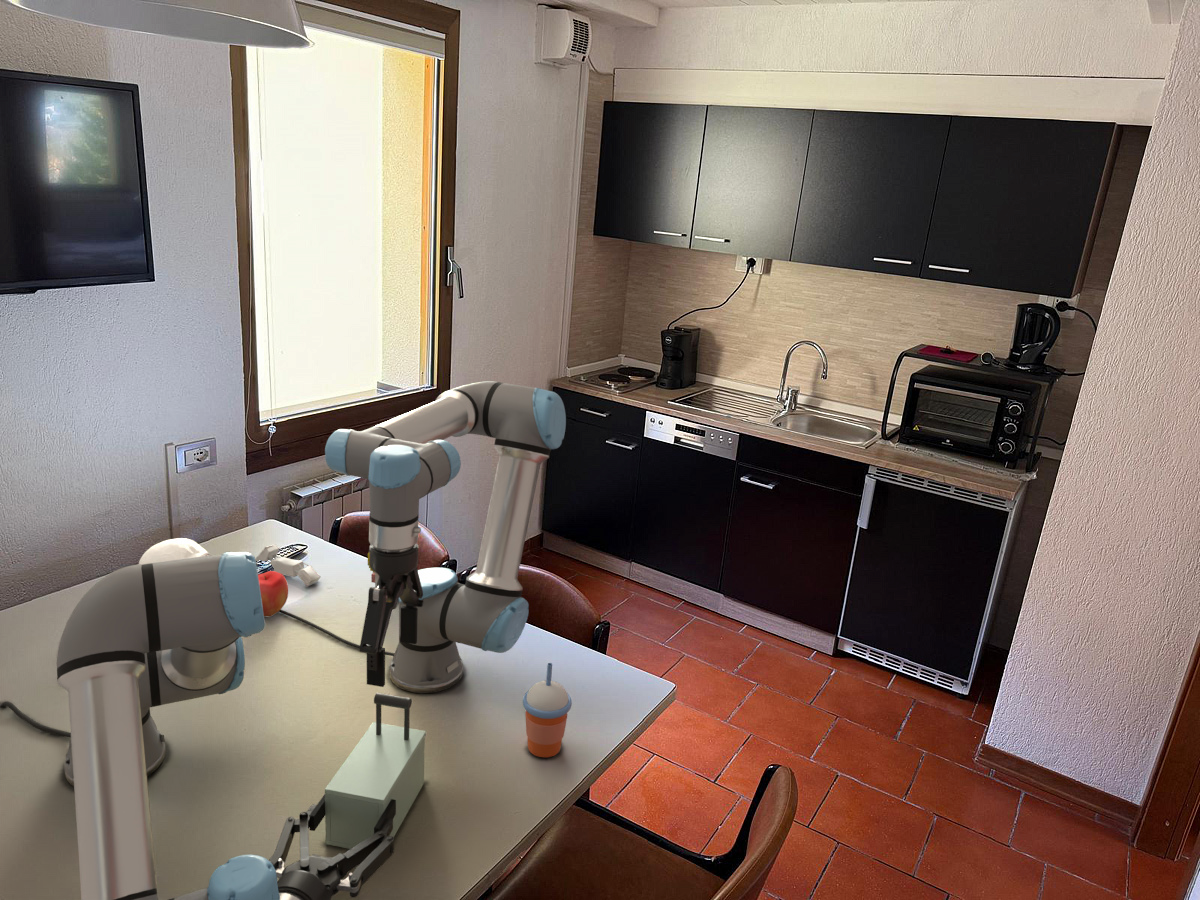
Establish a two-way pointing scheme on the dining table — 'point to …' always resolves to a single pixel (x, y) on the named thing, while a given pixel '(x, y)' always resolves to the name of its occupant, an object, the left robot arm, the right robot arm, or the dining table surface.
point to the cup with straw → (546, 716)
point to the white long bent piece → (288, 565)
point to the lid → (378, 756)
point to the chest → (372, 807)
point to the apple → (272, 592)
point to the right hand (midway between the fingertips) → (393, 662)
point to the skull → (173, 551)
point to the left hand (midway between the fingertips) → (362, 800)
